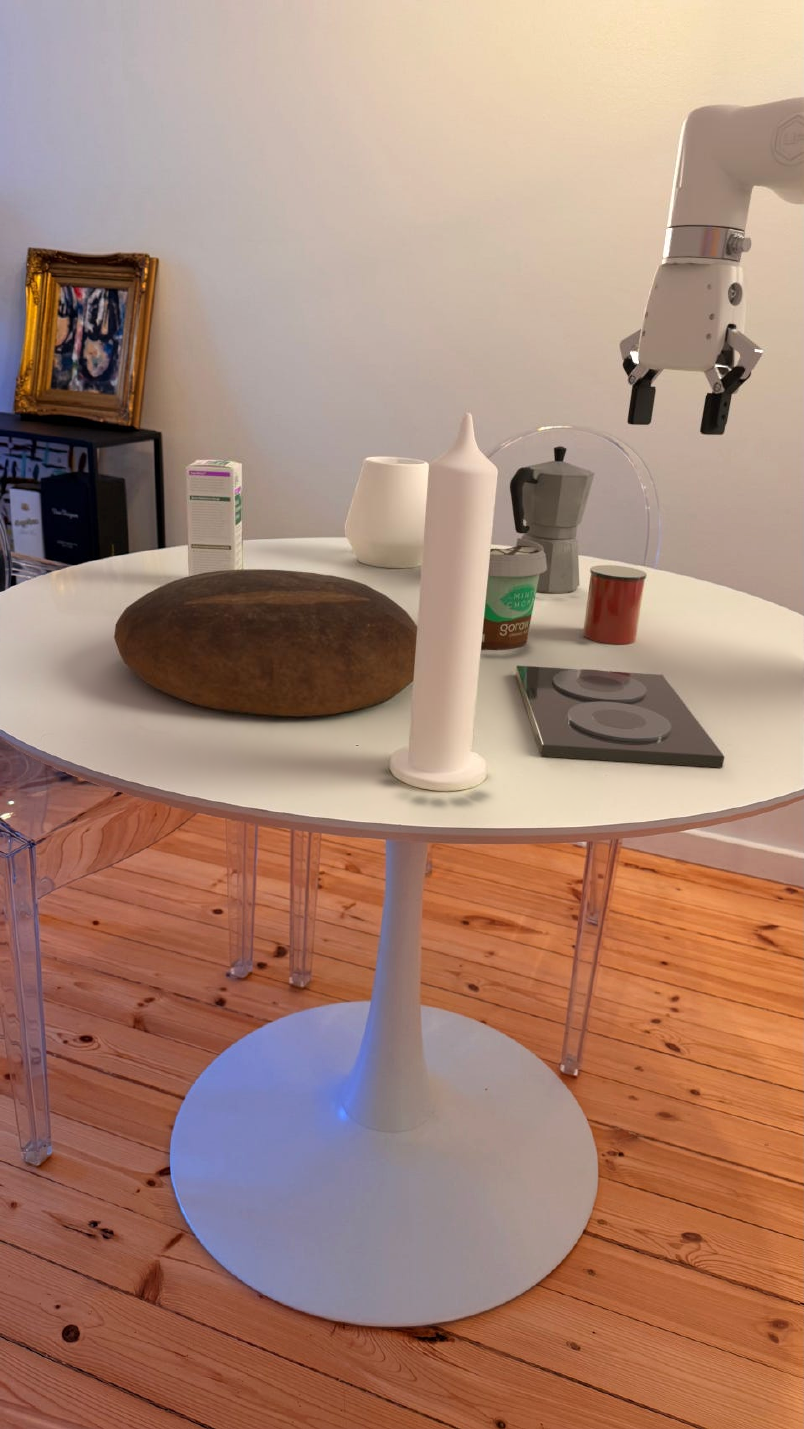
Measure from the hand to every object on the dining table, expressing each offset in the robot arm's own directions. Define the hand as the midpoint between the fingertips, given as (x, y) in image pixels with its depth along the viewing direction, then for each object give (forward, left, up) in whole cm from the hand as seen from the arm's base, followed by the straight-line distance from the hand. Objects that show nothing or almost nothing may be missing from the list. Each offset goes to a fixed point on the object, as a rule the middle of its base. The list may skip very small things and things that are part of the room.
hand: (674, 429), depth 105 cm
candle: (+24, +43, -23) cm, 54 cm away
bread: (+39, +22, -23) cm, 50 cm away
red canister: (+4, +3, -22) cm, 23 cm away
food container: (+16, +8, -23) cm, 29 cm away
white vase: (+29, -30, -23) cm, 48 cm away
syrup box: (+50, -10, -23) cm, 56 cm away
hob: (+9, +29, -22) cm, 38 cm away
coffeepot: (+9, -20, -23) cm, 32 cm away
